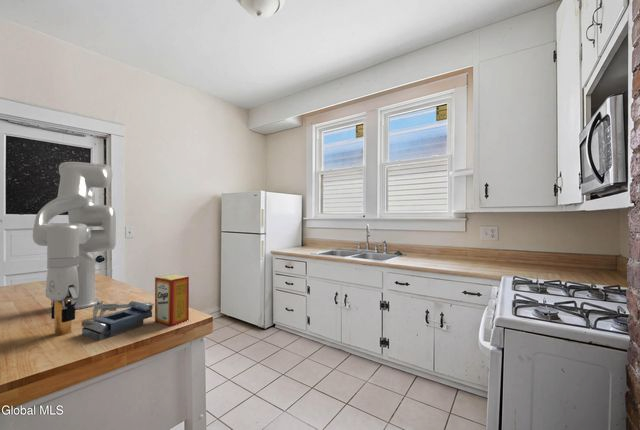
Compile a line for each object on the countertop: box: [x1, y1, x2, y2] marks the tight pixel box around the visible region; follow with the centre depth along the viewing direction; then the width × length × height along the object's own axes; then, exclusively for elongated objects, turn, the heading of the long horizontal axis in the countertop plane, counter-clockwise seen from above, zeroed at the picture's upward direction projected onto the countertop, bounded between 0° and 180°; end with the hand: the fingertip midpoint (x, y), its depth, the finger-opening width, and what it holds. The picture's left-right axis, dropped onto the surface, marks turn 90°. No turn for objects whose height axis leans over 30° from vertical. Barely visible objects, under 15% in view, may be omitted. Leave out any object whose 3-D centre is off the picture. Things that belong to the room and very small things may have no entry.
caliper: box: [92, 300, 155, 319], centre depth 110 cm, size 20×1×6 cm, turn 142°
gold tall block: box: [53, 296, 73, 337], centre depth 89 cm, size 4×4×12 cm
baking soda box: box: [154, 273, 190, 328], centre depth 99 cm, size 10×6×16 cm
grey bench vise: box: [81, 300, 154, 341], centre depth 93 cm, size 10×16×6 cm, turn 154°
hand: (63, 318), depth 89 cm, fingers open, 5 cm apart
